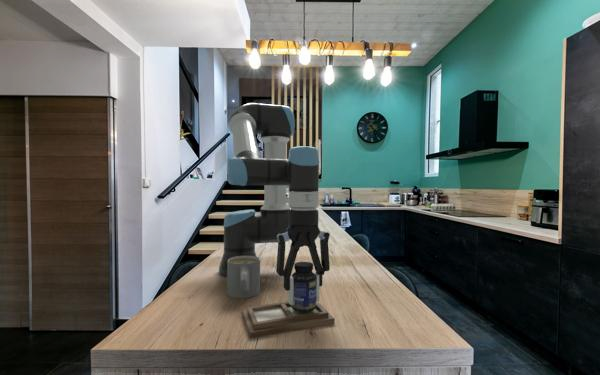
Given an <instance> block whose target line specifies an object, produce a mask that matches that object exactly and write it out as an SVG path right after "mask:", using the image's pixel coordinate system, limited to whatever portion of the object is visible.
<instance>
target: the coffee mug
mask: <svg viewBox="0 0 600 375" xmlns="http://www.w3.org/2000/svg"><path fill="white" fill-rule="evenodd" d="M256 256H257V255H256ZM256 256H237V257H232V258H230V259H228V261H227V277H226V282H227V286H226V292H227V295H228V296H229V297H231V298H235V299H247V298H251V297H256V296H257V295H259V294H260V293H261V258H260V257H258V256H257V257H256Z"/></svg>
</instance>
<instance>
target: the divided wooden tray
mask: <svg viewBox="0 0 600 375" xmlns="http://www.w3.org/2000/svg"><path fill="white" fill-rule="evenodd" d="M242 317H243V320H244V323H245V324H244V325H245V326H246V329H247V332H248V336H249V338H250V339H253V338H254V339H255V338H259V337H264V336H271V335H272V336H273V335H276V334H282V333H289V332H293V331H294V332H295V331H299V330H307V329H311V328H317V327H323V326H327V325H329V326H330V325H333V324H335V317H334V316H333V315H332V314H331V313H330V312H329V311H327V309H325V308H324V306H323V305H321V304H320V303H319V301H316V308H315V309H314V310H313V311H311V312H307V313H306V312H305V313H304V312H297V311H295V310H293V309H292V305H290V304H289V302H288V301H283V302H276V303H275V302H274V303H268V304H267V303H266V304H261V305H254V306H248V307H246V308H245V309H242Z"/></svg>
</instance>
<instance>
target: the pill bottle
mask: <svg viewBox="0 0 600 375" xmlns="http://www.w3.org/2000/svg"><path fill="white" fill-rule="evenodd" d="M293 269H294V270H295V272H293V273H291V276H292V277H293V278H294V293H293V305H292V309H293V310H295V311H297V312H304V313H305V312H306V313H307V312H311V311H313V310H314V309H315V308H316V275H315V274H314V273H313V272H314V271H313V270H314V264H313V262H310V261H297V262H295V263H294V266H293Z"/></svg>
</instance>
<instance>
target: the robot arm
mask: <svg viewBox="0 0 600 375" xmlns="http://www.w3.org/2000/svg"><path fill="white" fill-rule="evenodd" d="M295 122H296V120H295V114H294V111H293V110H292V108H291V106H288V105H287V106H286V105H281V104H268V103H267V104H266V103H256V102H248V103H246V104H243V105H241V106H239V107H238V108H236V109H235V110H234V111H233V112H232V114H231V116H230V117H229V121H228V125H229V126H228V127H229V131H230V132H231V134H232V145H233V146H232V148H233V157H229V158H228V159H227V182H228V184H230V185H231V186H233V185H234V186H241V187H244V186H263V187H264V196H263V197H264V204H263V205H262V206H261V207H260V212H259V213H258V212H257V213H256V210H255V209H244V210H237V211H232V212H229V213H226V214H225V216H224V218H223V219H224V220H223V226H222V227H223V229H224V230H223V253H222V254H223V255H222V257H221V260H220V262H219V267H218V274H219V275H220V276H222V277H225V278H227V261H228V259H230V258H232V257H237V256H256V257H258V256H257V253H256V245H257V244H268V243H269V244H270V243H271V244H272V243H277V253H276V254H277V256H276V270H275V272H276V273H277V275H278V276H279V277H283V288H284V290H285V291H286V292H287V294H286V295H287V296H286V298H287V299H286V302H289V304H290V305H293V293H294V278H293V277H292V274H293V273H292V272H293V269H294V265H295V263H296V258H297V256H298V252H299V251H300V248H302V247H307V248H308V251H309V254H310V258H311V261H312V263H313V269H314V271H312V272H313V273H314V274H315V275H316V301H317V302H319V301H320V287H322V286H323V276H324V275H325V272H328V271H330V252H329V239H330V232H328V231H325V230H320V228H319V210H318V209H317V208H319V174H320V173H319V171H320V170H319V168H320V166H319V164H320V160H319V159H320V158H319V150H318V148H316V147H314V146H303V145H301V146H294V147H291V148H290V149H289V150H288V157H287V144H288V143H289V141H291V137H292V136H294V135H295V127H296V123H295ZM256 135H260V140H261V142H262V143H264V157H261V156H260V155H261V154H260V151H259V150H260V149H259V145H258V141H257V137H256ZM287 186H288V205H287ZM317 238H319V244H320V246H319V248H320V255H319V253H318V249H317V244H316V240H317ZM290 241H291V243H290V248H289V249H290V250H289V252H288V255H287V259H286V258H285V257H286V243H287V242H290ZM285 259H286V262H285Z"/></svg>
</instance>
